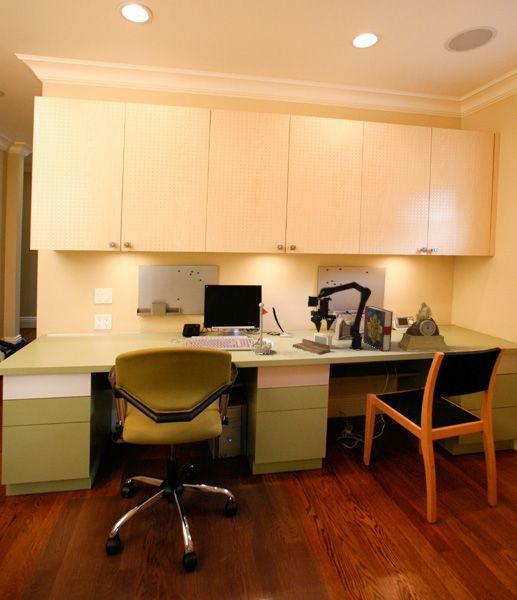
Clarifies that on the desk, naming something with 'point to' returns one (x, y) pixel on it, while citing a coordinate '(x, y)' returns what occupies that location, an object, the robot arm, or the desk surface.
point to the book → (378, 327)
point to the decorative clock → (423, 333)
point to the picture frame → (323, 339)
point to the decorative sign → (342, 328)
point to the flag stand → (261, 346)
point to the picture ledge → (312, 346)
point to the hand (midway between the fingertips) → (323, 331)
